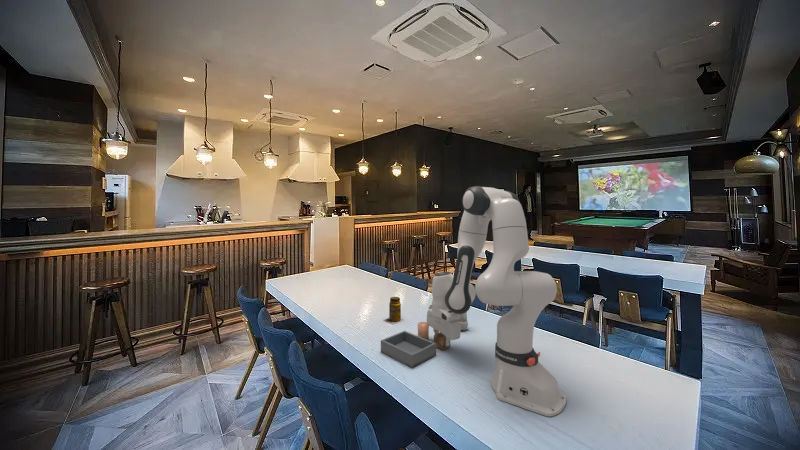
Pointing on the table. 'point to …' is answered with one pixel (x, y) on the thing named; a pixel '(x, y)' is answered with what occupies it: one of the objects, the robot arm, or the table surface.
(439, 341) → the walnut cube
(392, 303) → the condiment
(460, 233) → the robot arm
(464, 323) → the plastic bottle
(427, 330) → the terracotta cylinder
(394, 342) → the tote
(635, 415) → the table surface
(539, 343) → the table surface
